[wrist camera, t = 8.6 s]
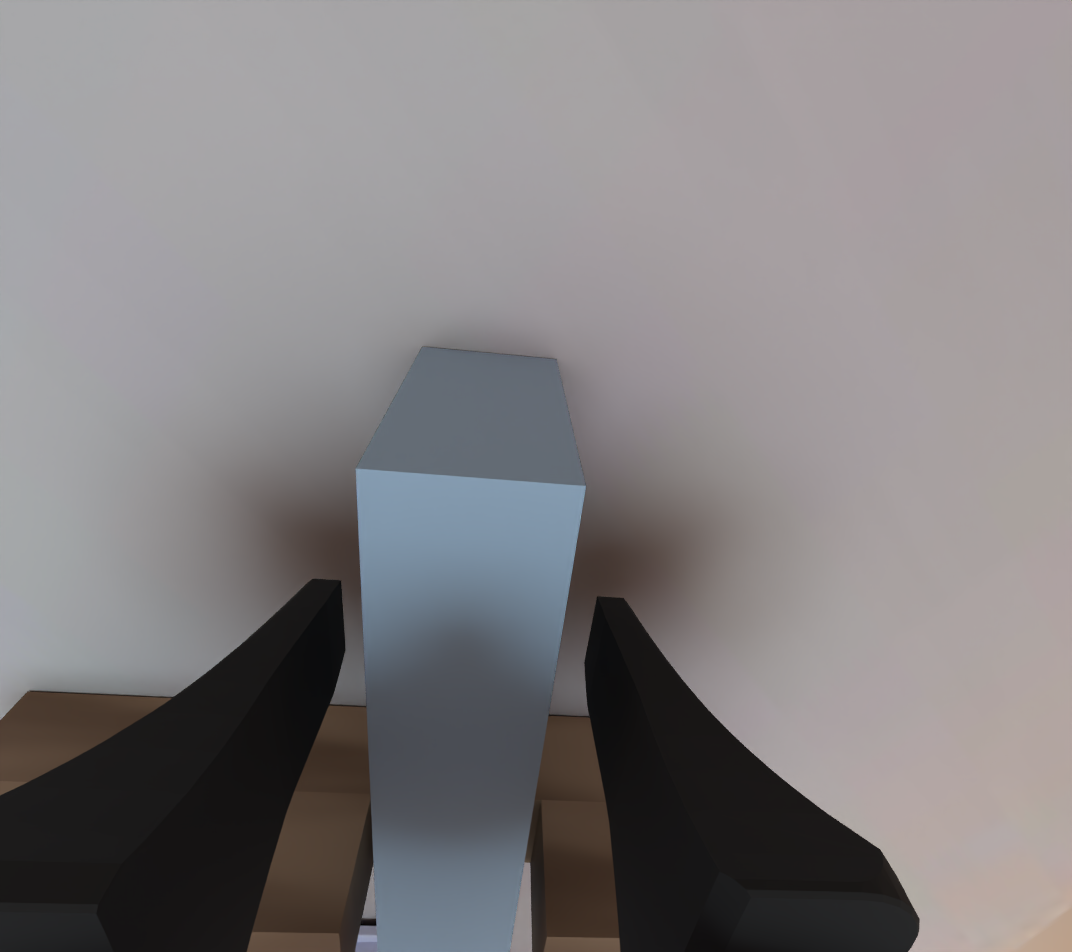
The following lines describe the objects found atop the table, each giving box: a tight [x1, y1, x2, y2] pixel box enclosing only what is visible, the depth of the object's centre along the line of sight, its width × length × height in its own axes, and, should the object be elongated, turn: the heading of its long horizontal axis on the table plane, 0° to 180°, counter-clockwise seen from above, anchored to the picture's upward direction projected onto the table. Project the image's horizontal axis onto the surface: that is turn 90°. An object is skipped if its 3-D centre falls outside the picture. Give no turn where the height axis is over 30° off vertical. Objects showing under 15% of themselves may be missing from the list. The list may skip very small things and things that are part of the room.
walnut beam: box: [0, 692, 620, 952], centre depth 16 cm, size 3×20×6 cm, turn 84°
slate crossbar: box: [356, 347, 586, 952], centre depth 14 cm, size 18×3×6 cm, turn 174°
